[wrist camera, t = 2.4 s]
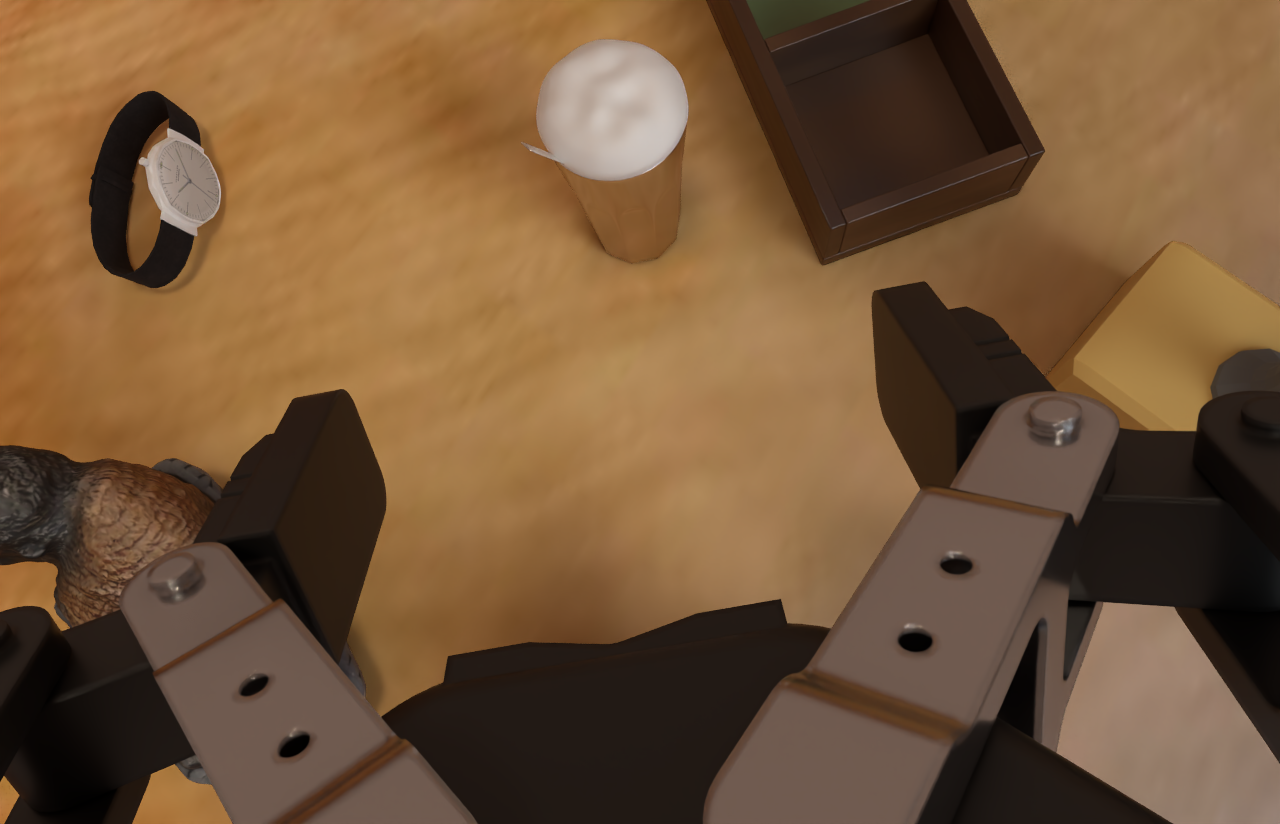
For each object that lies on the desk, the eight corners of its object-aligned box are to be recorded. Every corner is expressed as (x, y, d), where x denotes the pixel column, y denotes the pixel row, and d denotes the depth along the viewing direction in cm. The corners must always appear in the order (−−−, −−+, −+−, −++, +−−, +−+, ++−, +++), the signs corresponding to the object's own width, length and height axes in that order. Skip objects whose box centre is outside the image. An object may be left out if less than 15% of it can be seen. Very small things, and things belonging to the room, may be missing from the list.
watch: (219, 291, 37) (165, 255, 34) (105, 301, 37) (40, 265, 34) (231, 115, 39) (181, 63, 35) (122, 126, 39) (62, 75, 36)
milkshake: (539, 243, 36) (469, 97, 27) (636, 147, 37) (602, -29, 27) (623, 319, 35) (582, 196, 25) (722, 219, 36) (718, 62, 26)
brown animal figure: (422, 668, 33) (290, 679, 23) (274, 824, 32) (73, 903, 22) (209, 440, 36) (11, 363, 26) (68, 578, 35) (-190, 553, 25)
